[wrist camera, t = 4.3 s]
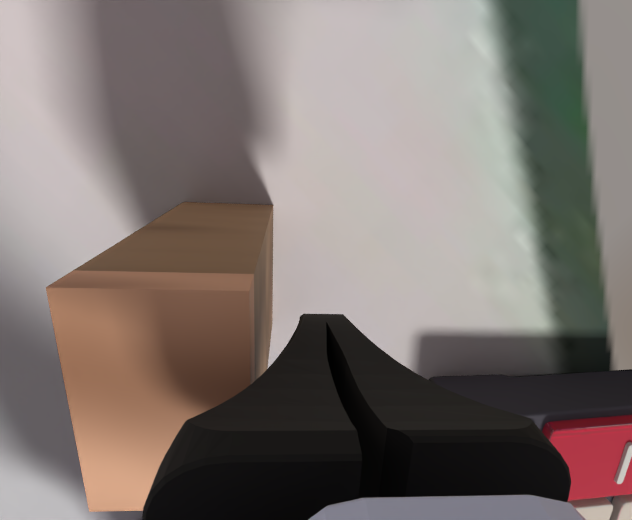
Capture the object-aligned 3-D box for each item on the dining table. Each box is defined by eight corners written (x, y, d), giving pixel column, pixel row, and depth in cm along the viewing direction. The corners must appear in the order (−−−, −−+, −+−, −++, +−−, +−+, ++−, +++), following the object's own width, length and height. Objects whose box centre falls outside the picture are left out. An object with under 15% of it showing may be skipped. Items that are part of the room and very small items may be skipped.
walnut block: (272, 323, 19) (251, 507, 10) (191, 322, 19) (89, 512, 9) (273, 204, 17) (249, 291, 8) (183, 202, 17) (46, 287, 8)
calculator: (685, 564, 22) (436, 597, 20) (620, 497, 26) (408, 520, 24) (755, 408, 18) (462, 432, 17) (668, 358, 23) (425, 374, 21)
